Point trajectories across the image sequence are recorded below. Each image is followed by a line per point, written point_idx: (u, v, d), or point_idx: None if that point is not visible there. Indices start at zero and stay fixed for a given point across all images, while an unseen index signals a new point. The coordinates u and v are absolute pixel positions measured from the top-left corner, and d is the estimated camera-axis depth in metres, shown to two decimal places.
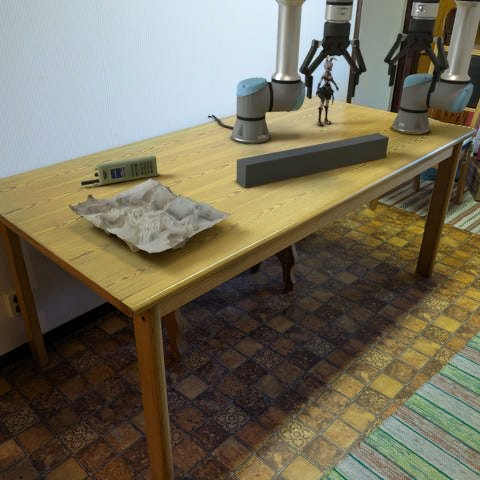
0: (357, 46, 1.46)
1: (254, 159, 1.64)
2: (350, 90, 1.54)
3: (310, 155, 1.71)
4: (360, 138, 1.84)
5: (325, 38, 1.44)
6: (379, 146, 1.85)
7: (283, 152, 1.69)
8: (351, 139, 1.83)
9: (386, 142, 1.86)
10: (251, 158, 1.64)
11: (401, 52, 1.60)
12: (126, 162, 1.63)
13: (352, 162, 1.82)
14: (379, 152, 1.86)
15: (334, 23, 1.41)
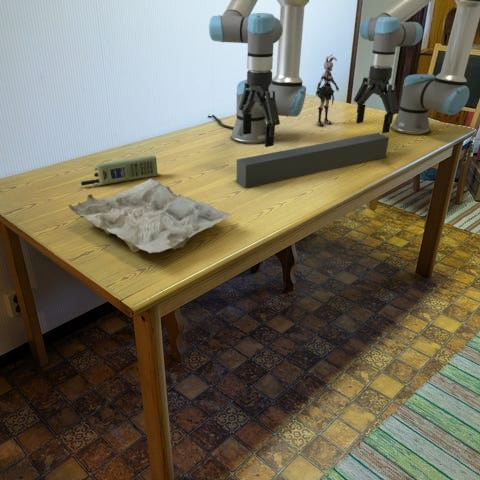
0: None
1: (254, 159, 1.64)
2: (246, 129, 1.64)
3: (310, 155, 1.71)
4: (360, 138, 1.84)
5: (268, 87, 1.50)
6: (379, 146, 1.85)
7: (283, 152, 1.69)
8: (351, 139, 1.83)
9: (386, 142, 1.86)
10: (251, 158, 1.64)
11: None
12: (126, 162, 1.63)
13: (352, 162, 1.82)
14: (379, 152, 1.86)
15: (270, 71, 1.50)
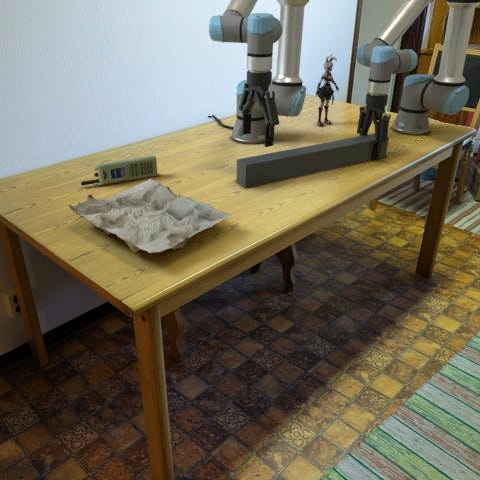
0: None
1: (254, 159, 1.64)
2: (246, 129, 1.64)
3: (310, 155, 1.71)
4: (360, 138, 1.84)
5: (267, 87, 1.50)
6: None
7: (283, 152, 1.69)
8: (351, 139, 1.83)
9: (386, 142, 1.86)
10: (251, 158, 1.64)
11: None
12: (126, 162, 1.63)
13: (352, 162, 1.82)
14: (379, 152, 1.86)
15: (270, 71, 1.50)
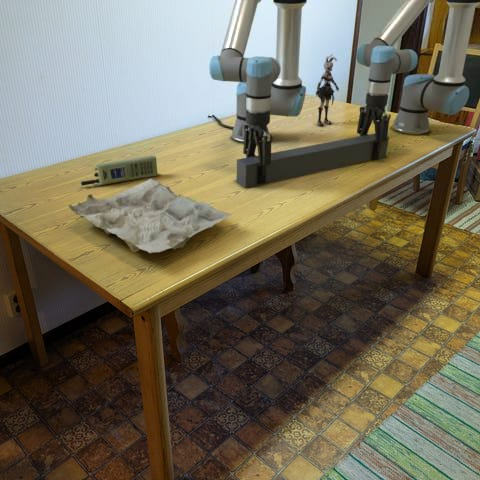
0: None
1: (254, 159, 1.64)
2: None
3: (310, 155, 1.71)
4: (360, 138, 1.84)
5: (266, 127, 1.56)
6: None
7: (283, 152, 1.69)
8: (351, 139, 1.83)
9: (386, 142, 1.86)
10: (251, 158, 1.64)
11: None
12: (126, 162, 1.63)
13: (352, 162, 1.82)
14: (379, 152, 1.86)
15: (268, 111, 1.56)
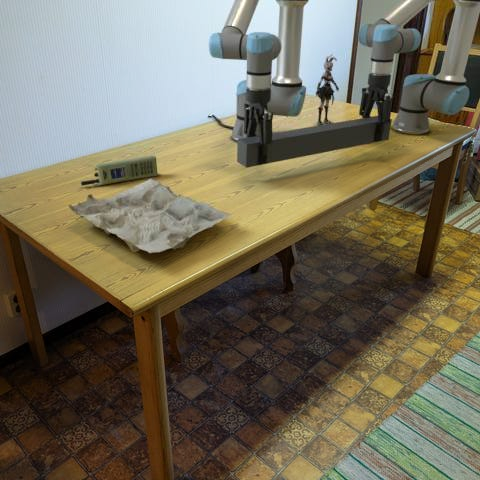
0: None
1: (254, 138, 1.61)
2: None
3: (312, 136, 1.68)
4: (362, 120, 1.81)
5: (266, 104, 1.53)
6: None
7: (285, 133, 1.67)
8: (354, 120, 1.80)
9: (389, 124, 1.83)
10: (252, 138, 1.62)
11: None
12: (126, 162, 1.63)
13: (355, 144, 1.79)
14: (382, 134, 1.83)
15: (269, 89, 1.53)
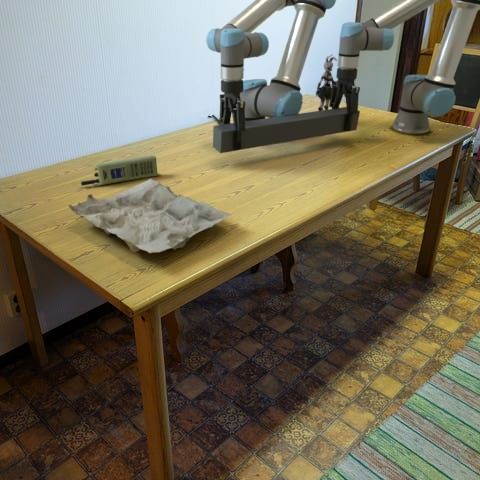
0: None
1: (229, 126, 1.74)
2: None
3: (283, 125, 1.81)
4: (332, 110, 1.94)
5: (239, 94, 1.66)
6: None
7: (258, 121, 1.79)
8: (324, 111, 1.93)
9: (357, 116, 1.96)
10: (227, 125, 1.74)
11: None
12: (126, 162, 1.63)
13: (324, 133, 1.92)
14: None
15: (242, 80, 1.66)
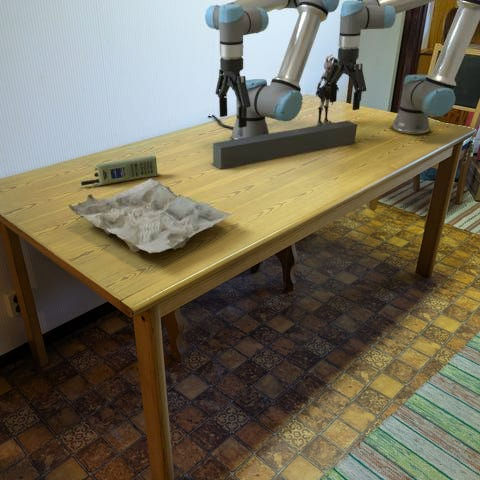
0: None
1: (228, 142, 1.78)
2: (223, 112, 1.78)
3: (282, 140, 1.84)
4: (330, 125, 1.98)
5: (239, 73, 1.63)
6: (347, 132, 1.99)
7: (257, 137, 1.83)
8: (322, 125, 1.97)
9: (355, 129, 2.00)
10: (226, 142, 1.78)
11: None
12: (126, 162, 1.63)
13: (322, 147, 1.96)
14: (348, 138, 2.00)
15: (241, 58, 1.63)
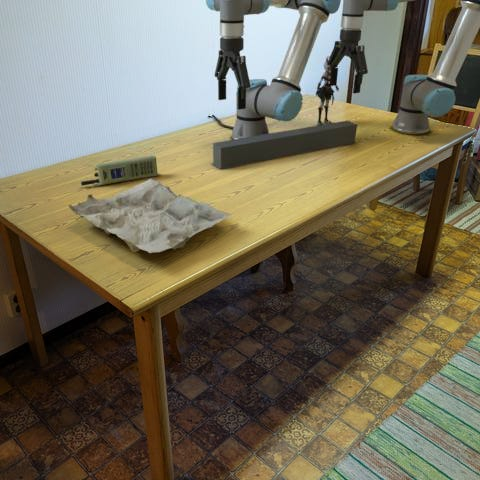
0: None
1: (228, 142, 1.78)
2: (221, 95, 1.75)
3: (282, 140, 1.84)
4: (330, 125, 1.98)
5: (239, 53, 1.60)
6: (347, 132, 1.99)
7: (257, 137, 1.83)
8: (322, 125, 1.97)
9: (355, 129, 2.00)
10: (226, 142, 1.78)
11: None
12: (126, 162, 1.63)
13: (322, 147, 1.96)
14: (348, 138, 2.00)
15: (242, 38, 1.60)
